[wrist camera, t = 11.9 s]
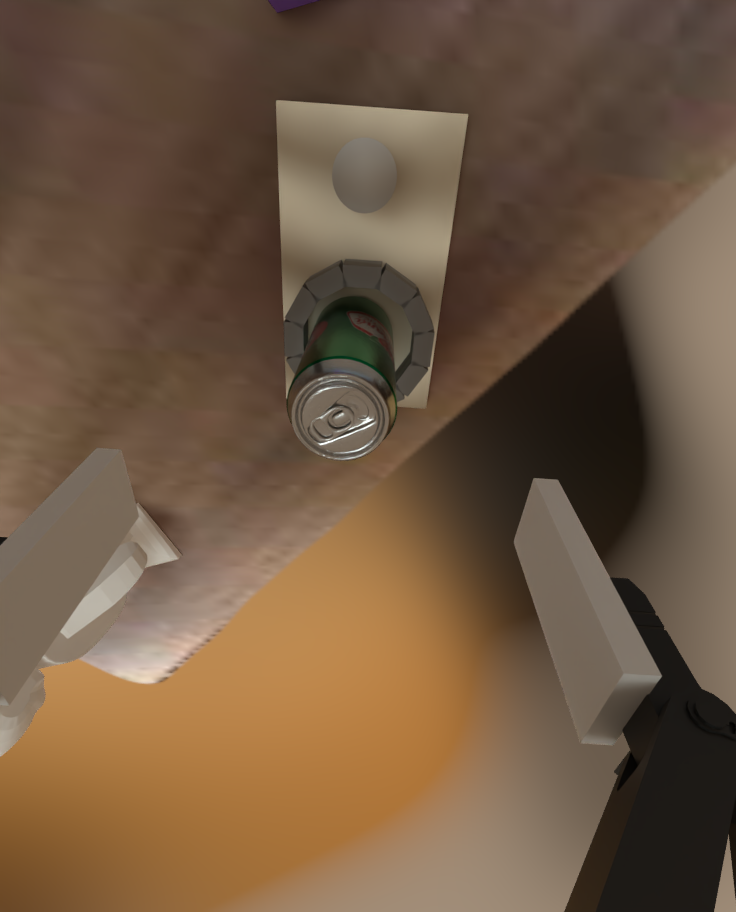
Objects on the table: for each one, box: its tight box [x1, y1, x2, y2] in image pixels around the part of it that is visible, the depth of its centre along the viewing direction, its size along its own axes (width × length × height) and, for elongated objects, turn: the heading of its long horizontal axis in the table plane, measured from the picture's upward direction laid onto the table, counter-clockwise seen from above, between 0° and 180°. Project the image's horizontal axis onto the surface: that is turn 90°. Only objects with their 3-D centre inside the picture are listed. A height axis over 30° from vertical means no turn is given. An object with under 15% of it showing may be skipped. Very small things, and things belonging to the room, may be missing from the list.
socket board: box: [276, 100, 468, 409], centre depth 27 cm, size 17×10×6 cm, turn 176°
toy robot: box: [0, 503, 183, 757], centre depth 34 cm, size 14×9×20 cm, turn 109°
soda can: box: [287, 296, 397, 461], centre depth 25 cm, size 5×5×12 cm
